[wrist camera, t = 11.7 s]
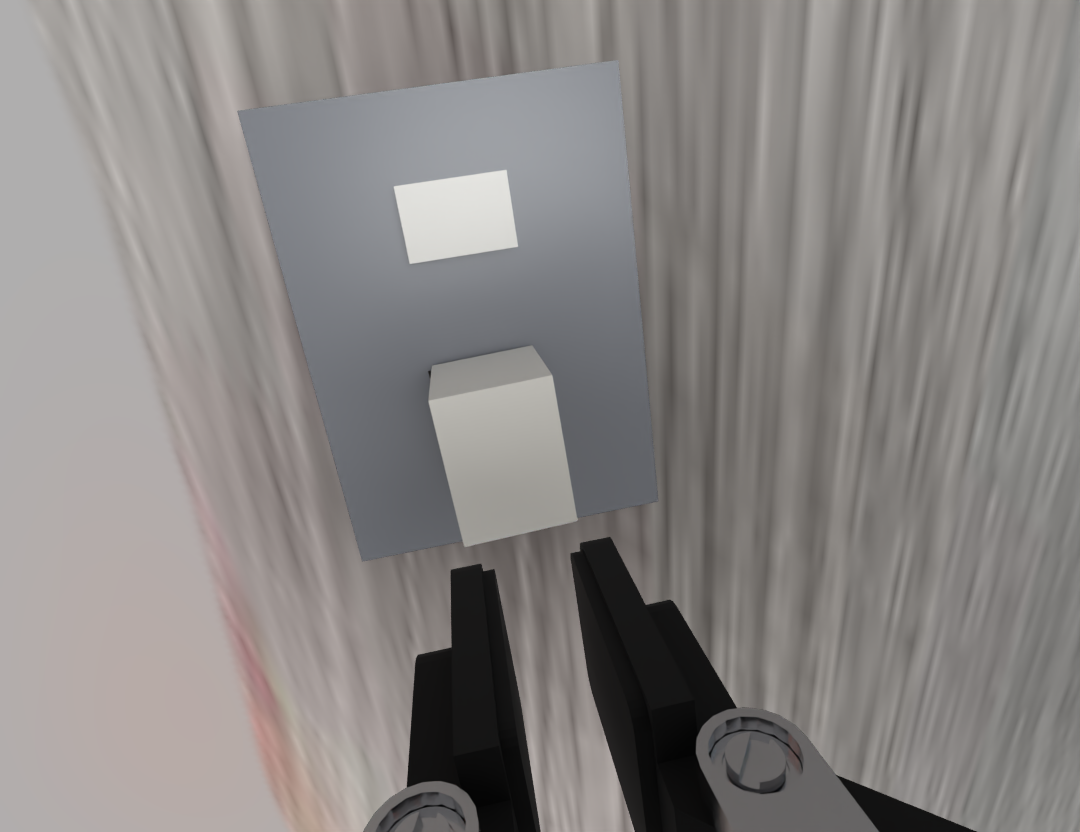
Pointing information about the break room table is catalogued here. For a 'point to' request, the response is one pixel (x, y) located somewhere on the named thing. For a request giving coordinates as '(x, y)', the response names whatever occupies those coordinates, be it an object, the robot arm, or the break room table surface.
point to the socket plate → (460, 277)
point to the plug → (501, 444)
